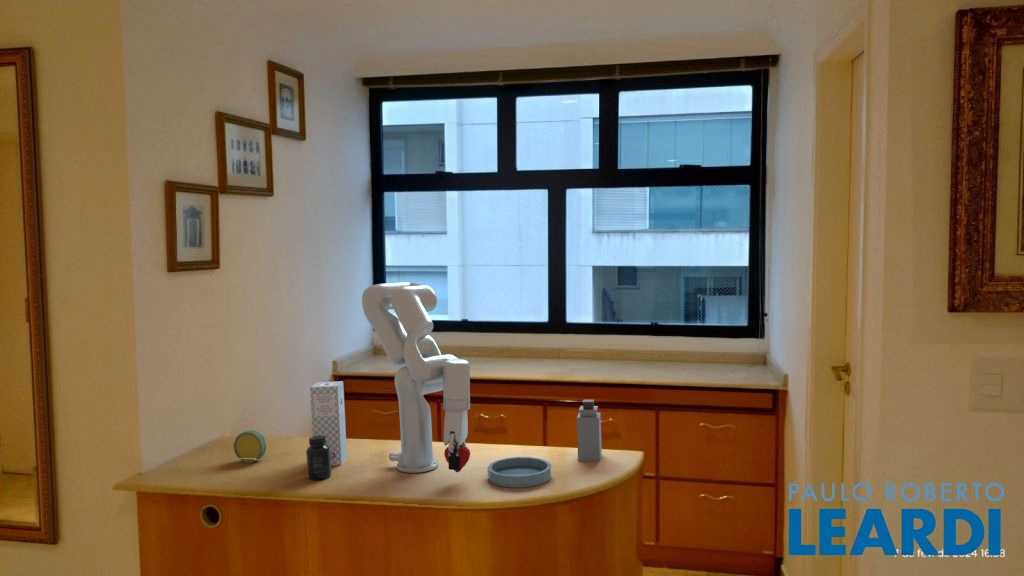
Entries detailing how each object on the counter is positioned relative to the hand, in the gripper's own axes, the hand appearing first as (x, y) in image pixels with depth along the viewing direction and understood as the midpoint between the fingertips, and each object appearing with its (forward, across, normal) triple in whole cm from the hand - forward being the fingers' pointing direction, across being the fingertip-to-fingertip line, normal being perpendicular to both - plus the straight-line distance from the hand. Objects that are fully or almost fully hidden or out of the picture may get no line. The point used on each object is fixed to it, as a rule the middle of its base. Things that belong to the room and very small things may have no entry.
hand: (457, 464), depth 202 cm
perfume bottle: (+5, -25, +36) cm, 44 cm away
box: (+8, -17, -46) cm, 49 cm away
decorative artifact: (+9, -18, -73) cm, 75 cm away
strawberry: (+2, 0, 0) cm, 2 cm away
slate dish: (+5, -5, +17) cm, 18 cm away
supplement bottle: (+7, -2, -43) cm, 43 cm away
